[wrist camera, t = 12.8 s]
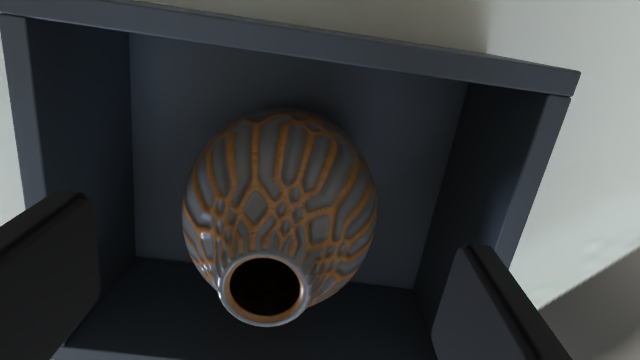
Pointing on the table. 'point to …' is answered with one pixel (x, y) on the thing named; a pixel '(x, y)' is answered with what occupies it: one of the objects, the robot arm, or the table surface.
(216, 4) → the table surface
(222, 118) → the dark grey open box
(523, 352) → the robot arm
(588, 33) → the table surface
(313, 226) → the vase
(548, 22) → the table surface
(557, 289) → the table surface
